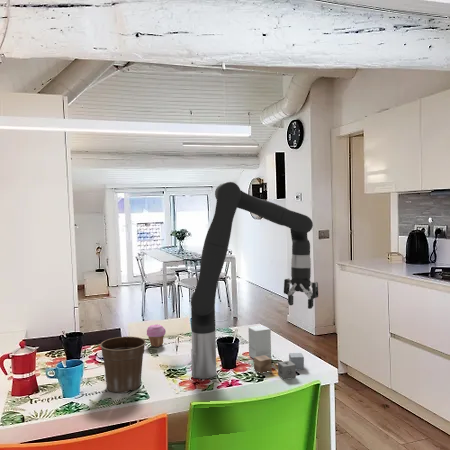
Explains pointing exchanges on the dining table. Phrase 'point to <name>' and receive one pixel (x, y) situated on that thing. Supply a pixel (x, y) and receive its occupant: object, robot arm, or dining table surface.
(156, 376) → the dining table surface
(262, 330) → the supplement box
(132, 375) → the plant pot
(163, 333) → the cupcake
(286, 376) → the dice cube
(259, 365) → the walnut block
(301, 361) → the slate block
